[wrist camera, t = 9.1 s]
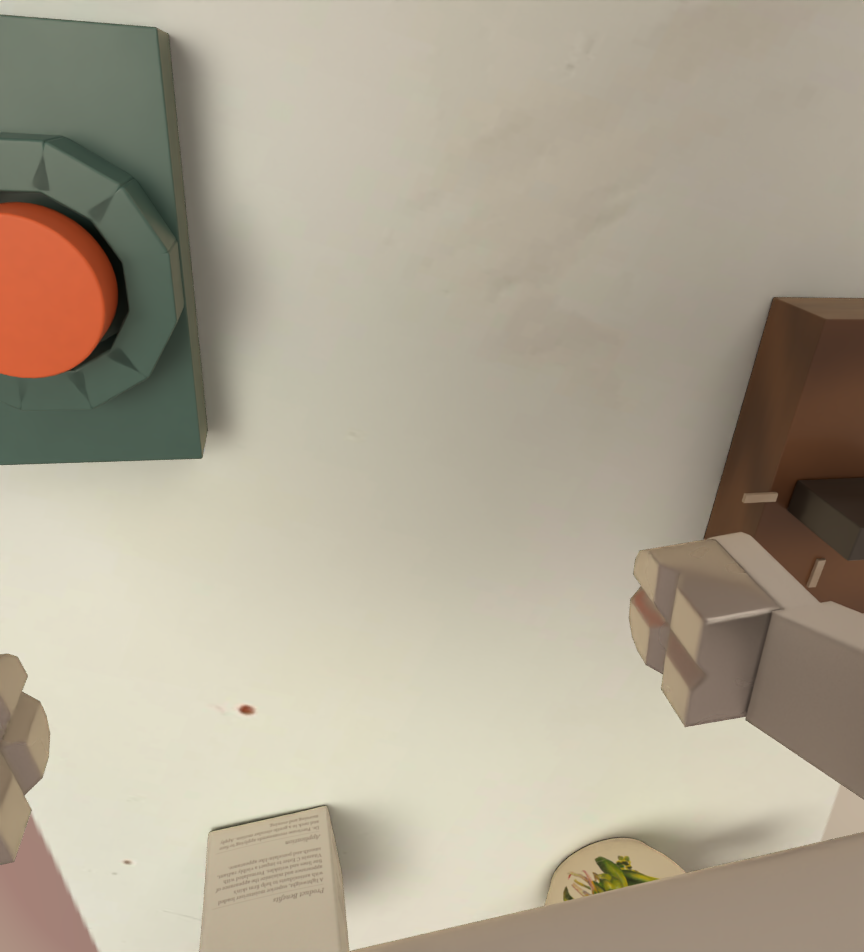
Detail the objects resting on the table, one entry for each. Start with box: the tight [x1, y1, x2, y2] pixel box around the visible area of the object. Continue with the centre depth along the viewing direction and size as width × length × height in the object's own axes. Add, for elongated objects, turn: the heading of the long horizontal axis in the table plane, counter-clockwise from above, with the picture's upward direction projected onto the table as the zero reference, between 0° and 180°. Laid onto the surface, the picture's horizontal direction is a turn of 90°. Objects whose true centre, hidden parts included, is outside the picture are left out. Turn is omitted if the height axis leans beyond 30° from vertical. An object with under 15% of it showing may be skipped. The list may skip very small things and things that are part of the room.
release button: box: [0, 202, 118, 378], centre depth 18 cm, size 4×4×2 cm
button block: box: [0, 15, 208, 465], centre depth 20 cm, size 12×7×4 cm, turn 177°
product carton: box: [199, 806, 349, 952], centre depth 33 cm, size 6×6×7 cm
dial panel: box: [704, 297, 864, 614], centre depth 29 cm, size 14×9×3 cm, turn 176°
